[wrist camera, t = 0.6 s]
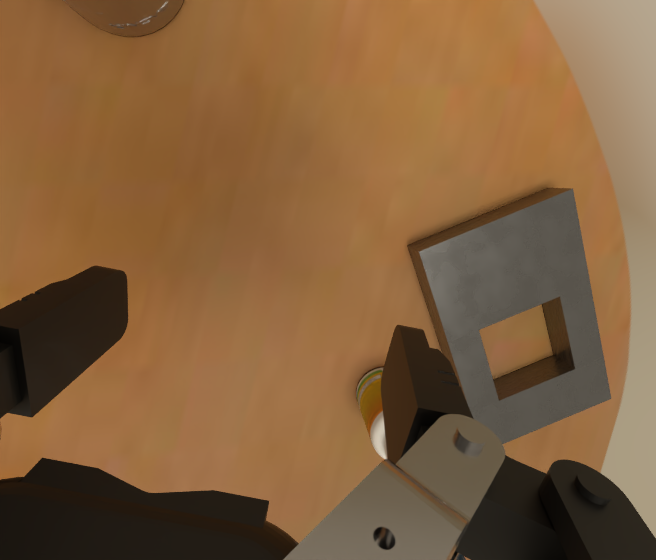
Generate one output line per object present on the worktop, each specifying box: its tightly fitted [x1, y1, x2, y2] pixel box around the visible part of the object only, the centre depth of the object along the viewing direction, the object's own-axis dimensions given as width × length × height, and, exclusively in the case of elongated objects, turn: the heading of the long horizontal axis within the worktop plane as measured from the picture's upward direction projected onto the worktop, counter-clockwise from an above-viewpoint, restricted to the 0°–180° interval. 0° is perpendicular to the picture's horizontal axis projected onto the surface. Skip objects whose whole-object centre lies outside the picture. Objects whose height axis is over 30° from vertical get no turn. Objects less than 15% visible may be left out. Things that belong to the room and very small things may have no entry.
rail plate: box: [408, 188, 611, 444], centre depth 36 cm, size 22×14×3 cm, turn 21°
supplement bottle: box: [356, 367, 388, 459], centre depth 33 cm, size 5×5×10 cm
